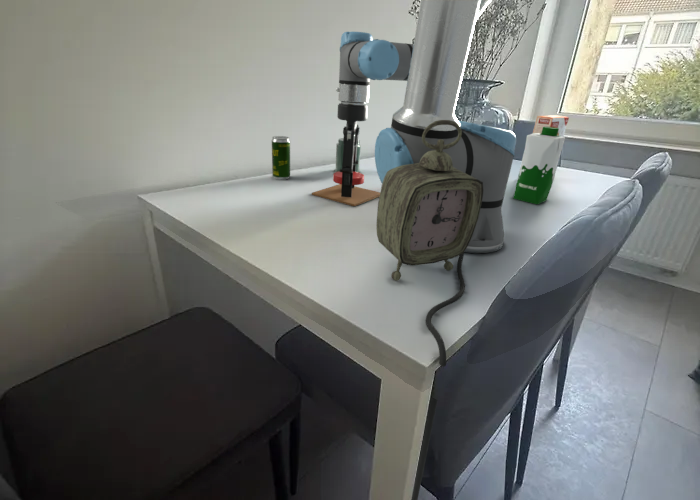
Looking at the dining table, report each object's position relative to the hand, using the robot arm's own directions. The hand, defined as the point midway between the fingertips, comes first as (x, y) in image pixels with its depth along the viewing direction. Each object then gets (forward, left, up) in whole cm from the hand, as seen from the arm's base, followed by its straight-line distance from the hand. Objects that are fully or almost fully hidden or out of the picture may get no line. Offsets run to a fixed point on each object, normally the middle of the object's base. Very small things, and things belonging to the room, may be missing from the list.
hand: (347, 191), depth 106 cm
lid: (0, 0, +4) cm, 4 cm away
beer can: (0, +25, -1) cm, 25 cm away
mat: (0, 0, -1) cm, 1 cm away
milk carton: (+35, -40, -1) cm, 53 cm away
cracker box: (+70, -35, -1) cm, 78 cm away
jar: (+22, +16, -1) cm, 27 cm away
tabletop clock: (-28, -34, -1) cm, 44 cm away
